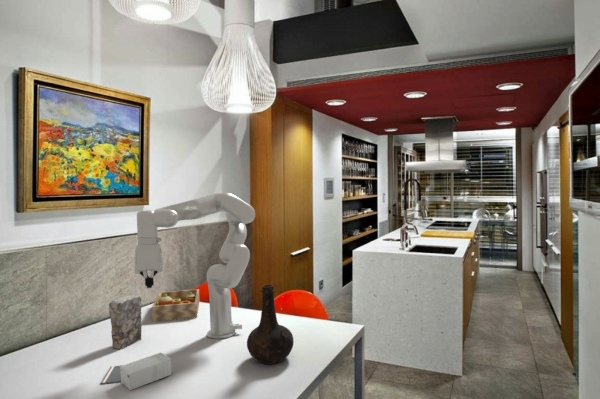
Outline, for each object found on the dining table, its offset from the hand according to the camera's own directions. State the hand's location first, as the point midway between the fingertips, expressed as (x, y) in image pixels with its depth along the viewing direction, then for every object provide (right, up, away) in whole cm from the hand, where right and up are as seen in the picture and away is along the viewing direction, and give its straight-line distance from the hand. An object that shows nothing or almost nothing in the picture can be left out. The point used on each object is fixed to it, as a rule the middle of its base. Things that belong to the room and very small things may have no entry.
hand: (149, 287), depth 164 cm
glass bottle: (+49, -26, -7) cm, 56 cm away
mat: (0, -28, -15) cm, 31 cm away
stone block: (-15, -28, +14) cm, 34 cm away
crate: (-7, -26, +63) cm, 69 cm away
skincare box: (+13, -23, -17) cm, 31 cm away
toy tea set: (-7, -26, +63) cm, 68 cm away
